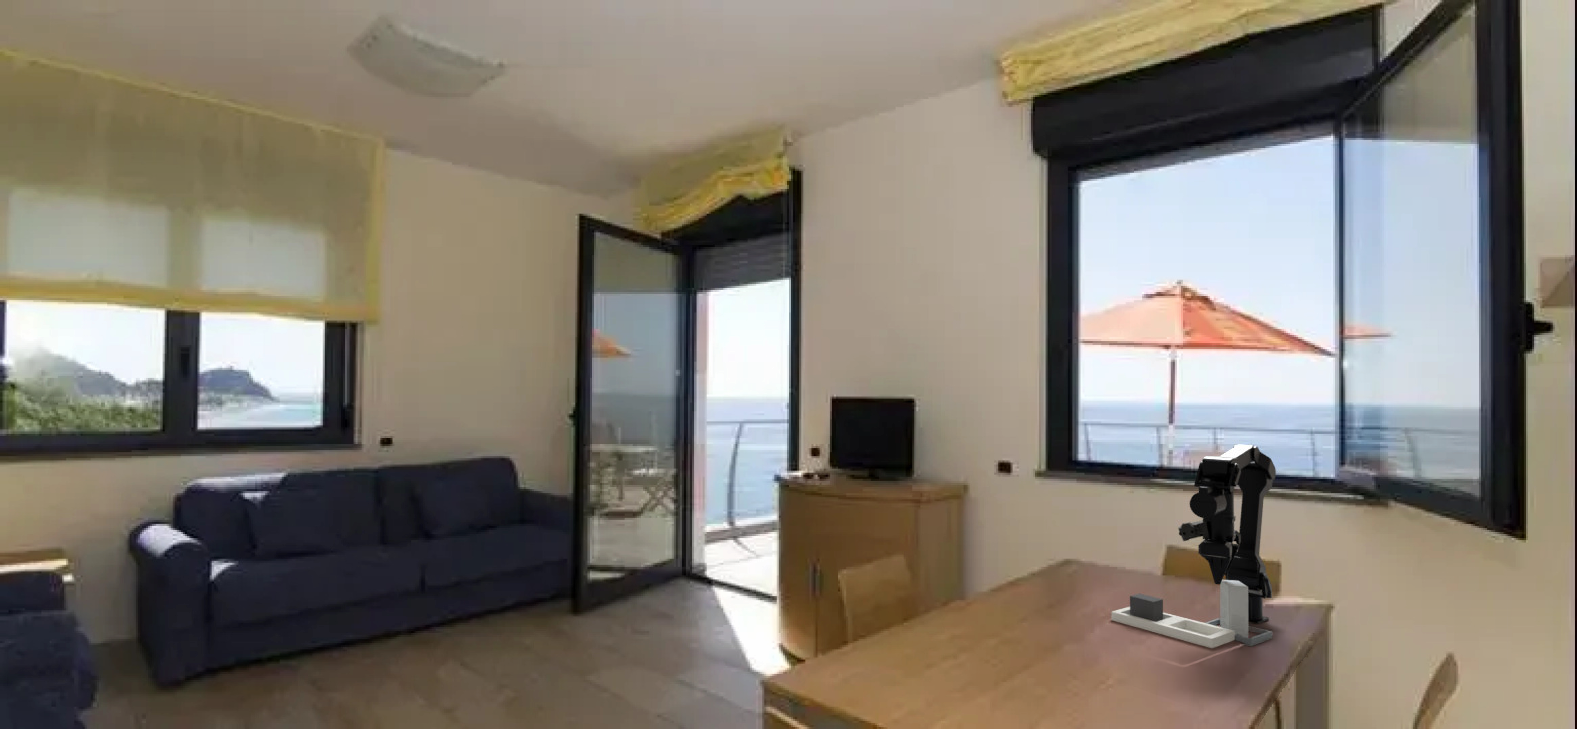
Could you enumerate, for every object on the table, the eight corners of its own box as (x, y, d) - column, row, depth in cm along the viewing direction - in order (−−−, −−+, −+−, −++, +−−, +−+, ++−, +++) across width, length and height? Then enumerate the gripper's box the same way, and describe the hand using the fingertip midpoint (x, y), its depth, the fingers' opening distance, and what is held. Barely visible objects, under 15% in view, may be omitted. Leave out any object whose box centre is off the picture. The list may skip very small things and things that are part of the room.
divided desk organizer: (1134, 615, 195) (1134, 605, 195) (1234, 641, 175) (1234, 630, 175) (1111, 621, 189) (1111, 611, 189) (1211, 650, 169) (1211, 638, 169)
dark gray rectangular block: (1139, 618, 191) (1139, 593, 191) (1163, 624, 186) (1162, 599, 186) (1130, 620, 188) (1129, 595, 188) (1153, 627, 183) (1153, 601, 184)
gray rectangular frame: (1218, 624, 188) (1218, 618, 188) (1272, 638, 178) (1272, 631, 178) (1196, 631, 182) (1196, 625, 182) (1251, 646, 172) (1251, 639, 172)
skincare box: (1249, 639, 177) (1248, 586, 177) (1228, 638, 177) (1228, 585, 178) (1239, 631, 183) (1239, 580, 183) (1219, 630, 183) (1219, 579, 184)
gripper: (1188, 502, 192) (1189, 565, 192) (1173, 514, 177) (1174, 583, 177) (1240, 506, 185) (1241, 572, 185) (1228, 520, 170) (1230, 591, 170)
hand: (1220, 579), depth 179 cm, fingers open, 9 cm apart
